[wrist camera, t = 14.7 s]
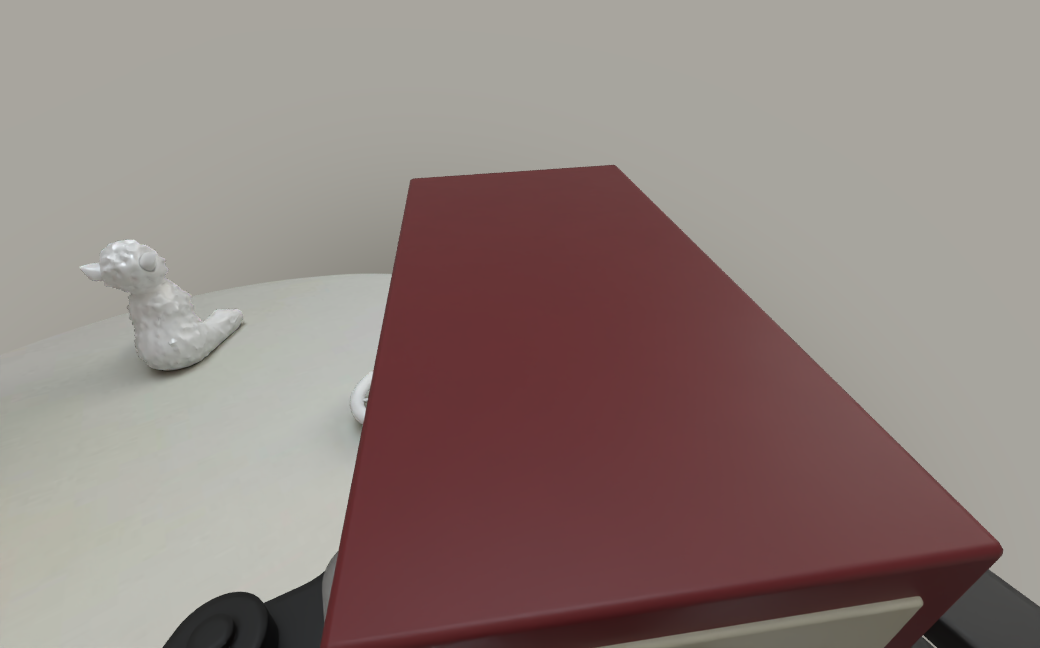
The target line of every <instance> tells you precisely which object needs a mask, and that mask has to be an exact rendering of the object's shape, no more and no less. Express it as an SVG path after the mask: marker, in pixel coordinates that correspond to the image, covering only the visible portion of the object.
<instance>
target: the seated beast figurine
mask: <svg viewBox="0 0 1040 648" xmlns="http://www.w3.org/2000/svg"><path fill="white" fill-rule="evenodd" d="M165 261H166V259H165V258H163V257H160V256H159V255H158V254H157V253H156V250H154V249H151V248H150V247H149V246H147V245H145V244H141V245H140V244H139V243H138V242H136V240H124V241H116V242H115V243H110V244H108V245H107V247H106V248H104V249H102V251H101V253H100V260H99V263H94V264H87V265H83V266H80V267H79V268H80V269H81V270H82V271H83V272H84V274H85V275H86V276H87V277H88V278H89V279H90V280H92V281H104V285H105V286H108V287H113V288H116V289H121V290H122V291H124V292H130V293H131V295H130V296H129V297H128V299H129V305H128V306H127V309H128V310H129V313H130V317H129V319H130V320H131V321H132V325H134V328H135V329H134V332H135V335H134V336H135V340H134V342H135V347H136V349H137V353H138V357H139V358H140V359H142V360H143V361H146V363H147V364H148V366H149V367H151V368H154V369H159V370H165V371H169V370H176V369H181V368H185V367H188V366H191V365H192V364H195V363H198V362H200V361H202V360H203V358H204V357H206V356H208V355H209V353H210V352H211V351H213V350H214V349H215V348H216V347H217V346H218V345H219V344H220V343H221V342H223V341H224V340H225V339H226V338H227V337H228V336H229V335H231V334H232V333H233V332H234V331H235V330H237V328H238V327H239V326H240V324H241V322H242V320H243V314H242V312H241V311H240V310H239V309H233V310H232V309H216V310H215V311H214V313H212V314H211V315H209V317H208V318H207V319H206V320H204V321H203V322H202V320H201V319H200V317H198V316H197V315H196V313H195V312H194V311H193V308H194V305H193V304H192V303H191V298H192V296H191V294H190V293H188V292H186V291H184V290H182V289H180V287H179V286H178V285H176V284H174V282H173V281H170V280H168V279H167V278H165V275H166V273H167V272H168V271H169V269H168V268H167V267H166V265H165Z"/></svg>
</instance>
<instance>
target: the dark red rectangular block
mask: <svg viewBox="0 0 1040 648" xmlns="http://www.w3.org/2000/svg"><path fill="white" fill-rule="evenodd" d="M1002 554H1003V548H1002V547H1001V545H1000V543H999V542H998V541H997V540H996V539H995V538H994V537H993V536H992V535H991V534H990V533H989V532H988V531H987V530H986V529H985V528H984V527H983V526H982V525H981V524H980V523H979V522H978V521H977V520H976V519H975V518H974V517H973V516H972V515H971V514H970V513H969V512H968V511H967V510H966V509H965V508H964V507H963V506H961V505H960V503H959V502H957V501H956V500H955V499H954V498H953V497H952V496H951V495H950V494H949V493H948V492H947V491H946V490H945V489H944V488H943V487H942V486H941V485H940V484H939V483H938V482H937V481H936V480H935V479H934V478H933V477H932V476H931V475H930V474H929V473H928V472H927V471H926V470H925V469H924V468H923V467H922V466H921V465H920V464H919V463H918V462H917V461H916V460H915V459H914V458H913V457H912V456H911V455H910V454H909V453H908V452H907V451H906V450H905V449H904V448H903V447H901V445H900V444H898V443H897V442H896V441H895V440H894V439H893V438H892V437H891V436H890V435H889V434H888V433H887V432H886V431H885V430H884V429H883V428H882V427H881V426H880V425H879V424H878V423H877V422H876V421H875V420H874V419H873V418H872V417H871V416H870V415H869V414H868V413H867V412H866V411H865V410H864V409H863V408H862V407H861V406H860V405H859V404H858V403H857V402H856V401H855V400H854V399H853V398H852V397H851V396H849V394H847V392H846V391H845V390H844V389H842V387H840V386H839V385H838V384H837V383H836V382H835V381H834V380H833V379H832V378H831V377H830V376H829V375H828V374H827V373H826V372H825V371H824V370H823V369H822V368H821V367H820V366H819V365H818V364H817V363H816V362H815V361H814V360H813V359H812V358H811V357H810V356H809V355H808V354H807V353H806V352H805V351H804V350H803V349H802V348H801V347H800V346H799V345H798V344H797V343H796V342H795V341H794V340H793V339H792V338H791V337H790V336H789V335H788V334H787V333H786V332H784V330H782V329H781V328H780V327H779V326H778V325H777V324H776V323H775V322H774V321H773V320H772V319H771V318H770V317H769V316H768V315H767V314H766V313H765V312H764V311H763V310H762V309H761V308H760V307H759V306H758V305H757V304H756V303H755V302H754V301H753V300H752V299H751V298H750V297H749V296H748V295H747V294H746V293H745V292H744V291H742V289H741V288H740V287H739V286H738V285H737V284H736V283H735V282H734V281H732V279H731V278H730V277H728V275H726V274H725V273H724V272H723V271H722V270H721V269H720V268H719V267H718V266H717V265H716V264H715V263H714V262H713V261H712V260H711V259H710V258H709V257H708V256H707V255H706V254H705V253H704V252H703V251H702V250H701V249H700V248H699V247H698V246H697V245H696V244H695V243H694V242H693V241H692V240H691V239H690V238H689V237H688V236H687V235H686V234H685V233H684V232H683V231H682V230H681V229H679V227H678V226H677V225H676V224H674V222H673V221H672V220H670V218H668V217H667V216H666V215H665V214H664V213H663V212H662V211H661V210H660V209H659V208H658V207H657V206H656V205H655V204H654V203H653V202H652V201H651V200H650V199H649V198H648V197H647V196H646V195H645V194H644V193H643V192H642V191H641V190H640V189H639V188H638V187H637V186H636V185H635V184H634V183H633V182H632V181H631V180H630V179H629V178H628V177H627V176H626V175H625V174H624V173H623V172H622V171H621V170H620V169H618V167H617V166H615V165H605V166H591V167H577V168H562V169H547V170H533V171H519V172H503V173H489V174H474V175H460V176H445V177H431V178H417V179H412V180H410V185H409V190H408V195H407V200H406V206H405V211H404V216H403V221H402V226H401V231H400V236H399V242H398V247H397V252H396V257H395V263H394V267H393V273H392V278H391V283H390V288H389V293H388V298H387V304H386V309H385V314H384V319H383V324H382V329H381V334H380V340H379V345H378V350H377V355H376V360H375V365H374V371H373V376H372V381H371V386H370V391H369V396H368V401H367V407H366V412H365V417H364V422H363V427H362V432H361V438H360V443H359V448H358V453H357V458H356V463H355V468H354V474H353V479H352V484H351V489H350V494H349V499H348V505H347V510H346V515H345V520H344V525H343V530H342V535H341V541H340V546H339V551H338V556H337V561H336V566H335V572H334V577H333V582H332V587H331V592H330V597H329V602H328V608H327V613H326V618H325V623H324V628H323V633H322V639H321V644H320V648H911V647H912V646H913V645H914V644H915V643H916V642H917V641H918V640H919V639H920V638H921V637H922V636H923V635H924V634H925V633H926V632H927V631H928V630H929V629H930V628H931V627H932V626H933V625H934V623H935V622H936V621H937V620H938V619H939V618H940V617H941V616H942V615H943V614H944V613H945V612H946V611H947V610H948V609H949V608H950V607H951V606H952V605H953V604H954V603H955V602H956V601H957V600H958V599H959V598H960V597H961V596H962V595H963V594H964V593H965V592H966V591H967V590H968V589H969V588H970V587H971V586H972V585H973V584H974V583H975V582H976V581H977V580H978V579H979V578H980V577H981V576H982V575H983V574H984V573H985V572H986V571H987V570H988V569H989V568H990V567H991V566H992V565H993V564H994V563H995V562H996V561H997V560H998V559H999V558H1000V557H1001V556H1002Z"/></svg>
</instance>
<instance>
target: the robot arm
mask: <svg viewBox="0 0 1040 648" xmlns="http://www.w3.org/2000/svg"><path fill="white" fill-rule="evenodd" d="M337 556H338V552H337V553H336V554H335V555H334V557H333V558H332V559H331V561H330V562H329V564H328V566H327V568H326V570H325V571H324V572H323V573H322V574H321V575H319V576H318V577H316V578H315V579H313V580H312V581H310V582H308V583H306V584H304V585H302V586H300V587H298V588H296V589H294V590H292V591H289V592H287V593H285V594H283V595H281V596H278V597H276V598H274V599H272V600H270V601H267V602H265V603H263V602H262V601H261V600H260V599H259V598H258V597H257V596H255V595H254V594H250V593H247V592H232V593H228V594H224V595H221V596H219V597H216V598H214V599H212V600H210V601H208V602H206V603H205V604H203V605H202V606H200V607H199V608H197V609H196V610H195V611H194V612H193V613H191V614H190V615H189V616H188V617H187V618H186V619H185V620H184V621H183V622H182V623H181V624H180V625H179V627H178V628H177V629H176V630H175V632H174V633H173V634H172V636H171V637H170V638H169V640H168V641H167V642H166V644H165V645H164V646H163V648H320V644H321V639H322V633H323V628H324V623H325V618H326V613H327V608H328V602H329V597H330V592H331V587H332V582H333V577H334V572H335V566H336V561H337ZM924 636H925V637H926V638H927V639H928V640H929V641H931V642H932V643H933V644H934V645H935V646H936V647H937V648H1040V607H1039V606H1038V605H1036V604H1035V603H1034V602H1032V601H1031V600H1030V599H1028V598H1027V597H1026V596H1024V595H1023V594H1022V593H1020V592H1019V591H1017V590H1016V589H1015V588H1013V587H1012V586H1010V585H1009V584H1008V583H1006V582H1005V581H1004V580H1002V579H1001V578H1000V577H998V576H997V575H995V574H994V573H993V572H991V571H990V570H989V569H988V570H987V571H986V572H985V573H984V574H983V575H982V576H981V577H980V578H979V579H978V580H977V581H976V582H975V583H974V584H973V585H972V586H971V587H970V588H969V589H968V590H967V591H966V592H965V593H964V594H963V595H962V596H961V597H960V598H959V599H958V600H957V601H956V602H955V603H954V604H953V605H952V606H951V607H950V608H949V609H948V610H947V611H946V612H945V613H944V614H943V615H942V616H941V617H940V618H939V619H938V620H937V621H936V622H935V623H934V625H933V626H932V627H931V628H930V629H929V630H928V631H927V632H926V633H925V634H924ZM911 648H934V647H933V646H932V645H931V644H929V643H928V642H927V641H926V640H925V639H924V638H923V637H921V638H920V639H919V640H918V641H917V642H916V643H915V644H914V645H913V646H912V647H911Z"/></svg>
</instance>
